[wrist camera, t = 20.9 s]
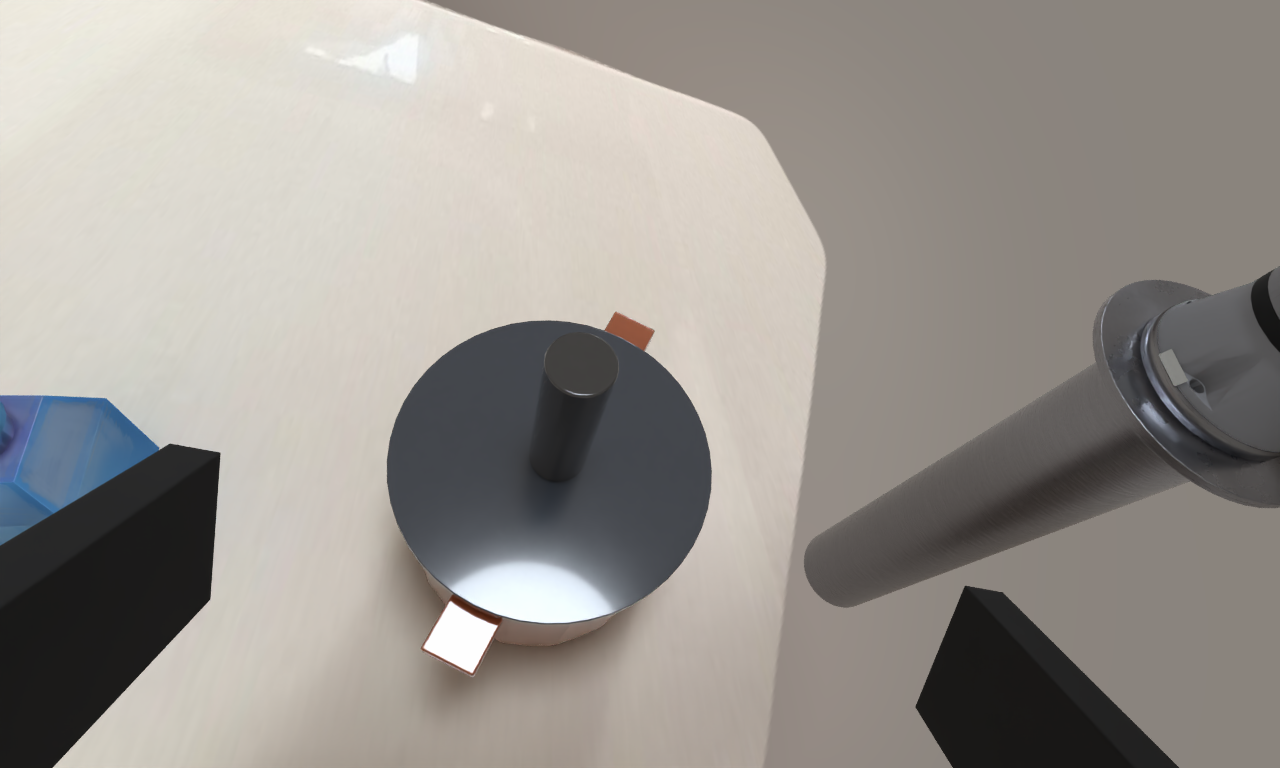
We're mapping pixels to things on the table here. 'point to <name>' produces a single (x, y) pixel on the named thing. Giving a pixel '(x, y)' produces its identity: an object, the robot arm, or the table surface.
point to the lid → (549, 473)
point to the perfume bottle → (59, 454)
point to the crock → (471, 632)
